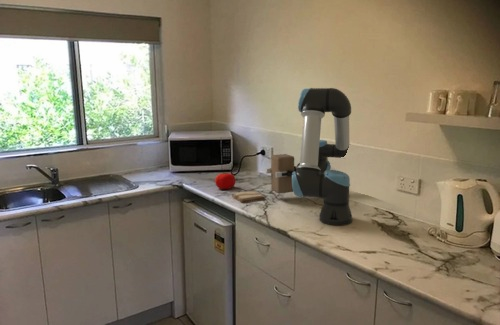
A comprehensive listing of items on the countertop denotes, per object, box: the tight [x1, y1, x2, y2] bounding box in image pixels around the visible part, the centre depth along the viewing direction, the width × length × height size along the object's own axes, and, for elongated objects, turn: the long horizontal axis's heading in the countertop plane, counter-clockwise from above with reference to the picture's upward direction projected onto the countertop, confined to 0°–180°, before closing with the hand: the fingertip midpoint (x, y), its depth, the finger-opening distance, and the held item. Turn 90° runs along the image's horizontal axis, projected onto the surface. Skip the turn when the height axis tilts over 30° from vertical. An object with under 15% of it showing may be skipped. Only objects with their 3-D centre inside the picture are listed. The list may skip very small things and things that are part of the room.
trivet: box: [231, 190, 266, 204], centre depth 220 cm, size 14×14×2 cm
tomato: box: [214, 172, 236, 190], centre depth 239 cm, size 11×13×10 cm
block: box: [270, 153, 295, 194], centre depth 214 cm, size 10×10×20 cm
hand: (271, 172), depth 211 cm, fingers closed on block, 10 cm apart
